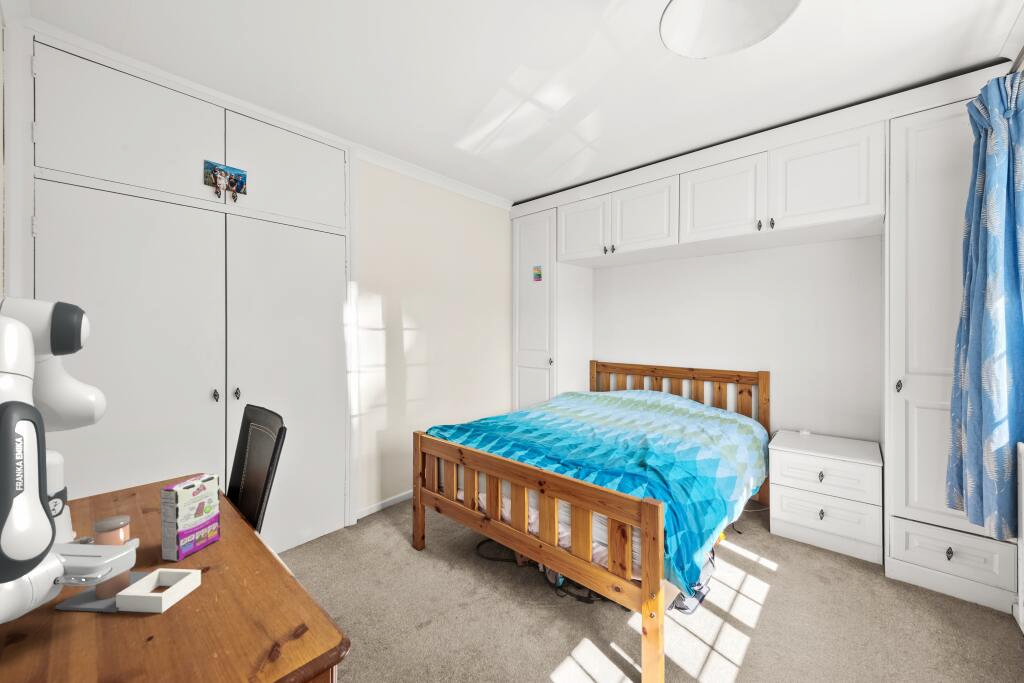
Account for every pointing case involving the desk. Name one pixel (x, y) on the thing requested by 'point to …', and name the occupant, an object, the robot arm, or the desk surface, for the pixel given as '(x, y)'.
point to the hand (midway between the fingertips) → (113, 541)
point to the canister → (115, 534)
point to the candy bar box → (189, 516)
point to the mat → (90, 603)
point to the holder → (144, 601)
